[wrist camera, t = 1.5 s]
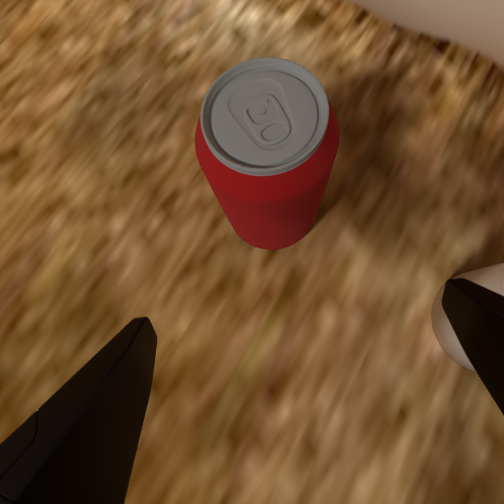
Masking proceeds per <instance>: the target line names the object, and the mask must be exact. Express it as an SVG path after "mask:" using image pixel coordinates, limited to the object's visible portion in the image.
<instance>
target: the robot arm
mask: <svg viewBox="0 0 504 504" xmlns="http://www.w3.org/2000/svg"><path fill="white" fill-rule="evenodd" d="M442 307H443V310H444V312H445V314H446V316H447V318H448V320H449V322H450V324H451V326H452V328H453V330H454V332H455V334H456V336H457V339H458V341H459V343H460V345H461V347H462V349H463V351H464V352H465V354H466V356H467V358H468V359H469V361H470V363H471V364H472V366H473V367H474V369H475V371H476V372H477V374H478V375H479V377H480V379H481V380H482V382H483V383H484V385H485V386H486V388H487V390H488V391H489V393H490V394H491V396H492V398H493V399H494V401H495V402H496V404H497V405H498V407H499V409H500V410H501V412H502V413H503V415H504V296H503V295H501V294H498V293H496V292H494V291H492V290H490V289H487V288H485V287H483V286H481V285H478V284H476V283H474V282H472V281H470V280H467V279H465V278H453V279H449V280H447V281H446V283H445V287H444V292H443V296H442ZM156 347H157V336H156V333H155V331H154V328H153V326H152V324H151V322H150V320H149V318H148V317H139V318H134V319H133V320H132V321H130V322H129V323H128V324H127V325H126V326H125V327H124V328H123V329H122V330H121V331H120V332H119V333H118V334H117V335H116V336H115V337H114V338H113V339H112V340H110V341H109V342H108V343H107V344H106V345H105V346H104V347H103V348H102V349H101V350H100V351H99V352H98V353H97V354H96V355H95V356H94V357H93V358H91V359H90V360H89V361H88V362H87V363H86V364H85V365H84V366H83V367H82V368H81V369H80V370H79V371H78V372H77V373H76V374H75V375H74V376H73V377H71V378H70V379H69V380H68V381H67V382H66V383H65V384H64V385H63V386H62V387H61V388H60V389H59V390H58V391H57V392H56V393H55V394H54V395H52V396H51V397H50V398H49V399H48V400H47V401H46V402H45V403H44V404H43V405H42V406H41V407H40V408H39V409H38V411H36V412H34V413H33V414H32V415H31V416H30V417H29V418H28V419H27V420H26V421H25V422H24V423H23V424H22V425H21V426H20V427H19V428H17V429H16V430H15V431H14V432H13V433H12V434H11V435H10V436H9V437H8V438H7V439H5V440H4V441H3V442H2V443H1V444H0V504H124V502H125V497H126V493H127V489H128V485H129V481H130V476H131V472H132V468H133V464H134V460H135V455H136V451H137V447H138V443H139V439H140V434H141V430H142V426H143V422H144V417H145V413H146V409H147V405H148V401H149V396H150V392H151V386H152V380H153V371H154V363H155V355H156Z"/></svg>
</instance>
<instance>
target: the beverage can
mask: <svg viewBox="0 0 504 504" xmlns="http://www.w3.org/2000/svg"><path fill="white" fill-rule="evenodd" d="M338 144H339V126H338V121H337V118H336V114H335V112H334V109H333V107H332V106H331V104H330V102H329V101H328V99H327V95H326V92H325V90H324V88H323V86H322V85H321V83H320V82H319V80H318V79H317V78H316V77H315V76H314V75H313V74H312V73H311V72H310V71H309V70H307V69H306V68H304V67H303V66H301V65H299V64H297V63H295V62H292V61H289V60H286V59H281V58H274V57H263V58H256V59H251V60H247V61H244V62H241V63H239V64H237V65H235V66H233V67H231V68H230V69H228V70H227V71H225V72H224V73H223V74H222V75H220V76H219V77H218V78H217V79H216V80H215V82H214V83H213V84H212V85H211V87H210V88H209V90H208V91H207V93H206V95H205V98H204V100H203V104H202V108H201V115H200V117H199V120H198V123H197V127H196V133H195V149H196V155H197V158H198V161H199V164H200V166H201V168H202V170H203V172H204V174H205V176H206V178H207V180H208V182H209V184H210V186H211V188H212V190H213V192H214V194H215V196H216V198H217V200H218V201H219V203H220V205H221V207H222V209H223V211H224V213H225V214H226V216H227V218H228V220H229V222H230V223H231V225H232V227H233V229H234V230H235V232H236V233H237V234H238V235H239V236H240V237H241V238H242V239H243V240H244V241H245V242H247V243H249V244H250V245H252V246H255V247H258V248H261V249H268V250H275V249H282V248H285V247H288V246H291V245H293V244H295V243H296V242H298V241H299V240H300V239H302V238H303V237H304V236H305V235H306V234H307V232H308V231H309V230H310V228H311V227H312V225H313V222H314V220H315V217H316V214H317V212H318V209H319V206H320V203H321V200H322V197H323V195H324V191H325V188H326V185H327V182H328V179H329V176H330V173H331V169H332V166H333V163H334V160H335V156H336V153H337V149H338Z"/></svg>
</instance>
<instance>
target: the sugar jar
mask: <svg viewBox="0 0 504 504" xmlns="http://www.w3.org/2000/svg"><path fill="white" fill-rule="evenodd" d="M453 278H465V279H467V280H470V281H472V282H474V283H476V284H478V285H481V286H483V287H485V288H487V289H490V290H492V291H494V292H496V293H498V294H501V295H503V296H504V263H500V264H496V265H492V266H489V267H485V268H481V269H477V270H473V271H469V272H466V273H462V274H459V275H457V276H455V277H453ZM453 278H452V279H453ZM444 287H445V284H444V285H443V286H442V287H441V288H440V290H439V291H438V293H437V295H436V297H435V299H434V302H433V306H432V312H431V319H432V326H433V330H434V333H435V336H436V338H437V340H438V342H439V344H440V346H441V347H442V348H443V350H444V351H445V352H446V353H447V354H448V356H449V357H450V358H451V359H453V360H454V361H455V362H456V363H458V364H459V365H461V366H462V367H464V368H466V369H468V370H470V371H472V372H475V373H477V372H476V371H475V369H474V367H473V366H472V364H471V363H470V361H469V359H468V358H467V356H466V354H465V352H464V351H463V349H462V347H461V345H460V343H459V341H458V339H457V336H456V334H455V332H454V330H453V328H452V326H451V324H450V322H449V320H448V318H447V316H446V314H445V312H444V310H443V307H442V296H443V292H444Z"/></svg>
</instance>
